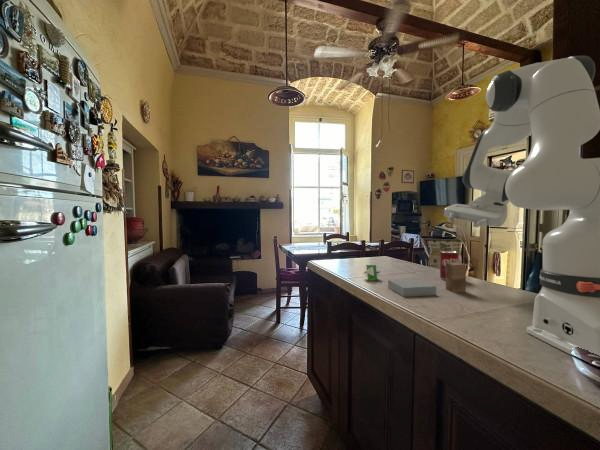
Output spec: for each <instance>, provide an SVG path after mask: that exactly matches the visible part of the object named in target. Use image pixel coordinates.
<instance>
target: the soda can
mask: <svg viewBox="0 0 600 450" xmlns="http://www.w3.org/2000/svg"><path fill="white" fill-rule="evenodd" d="M453 262H457V263H460V255H459V252H458V251H456V250H455V251H454V250H440V251H439V278H440V279H441V280H443V281H446V264H445V263H453Z"/></svg>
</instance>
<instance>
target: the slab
mask: <svg viewBox="0 0 600 450" xmlns="http://www.w3.org/2000/svg"><path fill="white" fill-rule="evenodd" d="M387 282H388V284H387V286H388V287H387V288H388V289H390V290H392V291H393V292H395V293H397V294H398V295H400V296H402V297H423V296H437V286H436V285H434V284H431V283H429V282H426V281H424V280H421V279H419V278H405V279H403V278H402V279H401V278H400V279H388V281H387Z"/></svg>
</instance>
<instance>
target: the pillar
mask: <svg viewBox="0 0 600 450" xmlns="http://www.w3.org/2000/svg"><path fill="white" fill-rule="evenodd" d="M445 264H446V280H445V290H447V291H449V292H452V293H467V290H466V289H467V287H466V286H467V283H466V281H467V280H466V279H467V276H466V270H467V269H466V265H467V264H466V263H462V262H461V263H460V262H459V263H457V262H453V263H445Z"/></svg>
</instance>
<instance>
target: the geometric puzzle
mask: <svg viewBox="0 0 600 450" xmlns="http://www.w3.org/2000/svg"><path fill="white" fill-rule="evenodd" d="M365 267H366V269H364V272H363V273H362V274H364V276H365V277H366V280H367V281H378V280H379V277H378V276H379V275H380V274H381V270H380V271H379V270H378V267H377V265H376V264H366V265H365Z"/></svg>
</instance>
